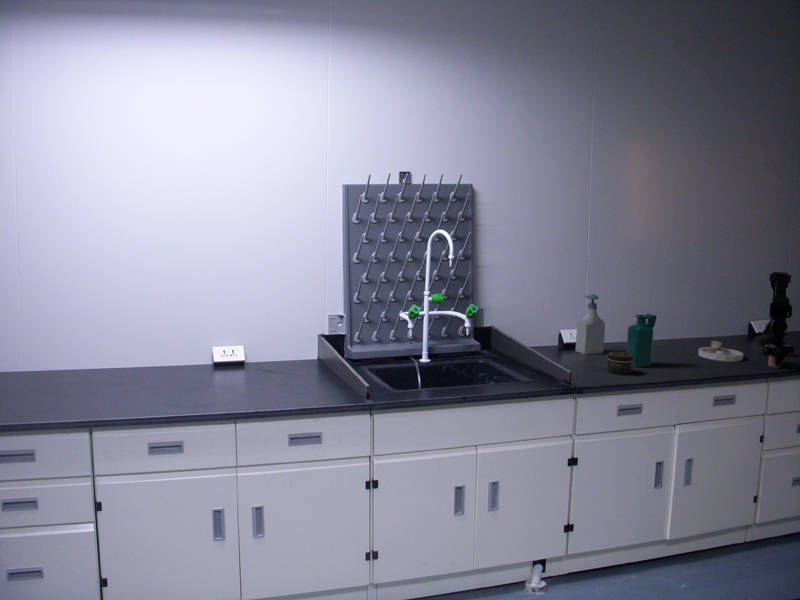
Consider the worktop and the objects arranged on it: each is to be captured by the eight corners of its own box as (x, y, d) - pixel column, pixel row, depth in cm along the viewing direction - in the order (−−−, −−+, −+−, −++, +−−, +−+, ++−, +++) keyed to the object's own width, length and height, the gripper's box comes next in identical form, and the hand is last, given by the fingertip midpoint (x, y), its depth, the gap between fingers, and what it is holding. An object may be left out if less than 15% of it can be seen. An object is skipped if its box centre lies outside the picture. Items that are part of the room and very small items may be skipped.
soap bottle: (591, 349, 301) (595, 292, 297) (603, 352, 294) (607, 294, 290) (572, 350, 297) (576, 293, 293) (584, 354, 289) (588, 295, 285)
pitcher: (635, 367, 267) (639, 316, 263) (623, 362, 275) (627, 313, 272) (655, 366, 269) (659, 316, 266) (642, 361, 277) (646, 312, 274)
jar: (611, 367, 265) (613, 350, 264) (635, 372, 259) (637, 354, 258) (602, 372, 258) (604, 354, 257) (627, 376, 251) (628, 358, 250)
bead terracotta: (775, 365, 275) (777, 354, 275) (781, 368, 271) (782, 357, 270) (765, 365, 275) (766, 354, 275) (771, 368, 271) (772, 356, 270)
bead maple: (722, 353, 293) (723, 342, 292) (712, 352, 293) (713, 342, 292) (718, 351, 297) (719, 340, 297) (708, 350, 297) (709, 340, 297)
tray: (730, 353, 299) (731, 347, 299) (750, 362, 281) (751, 356, 281) (691, 351, 300) (692, 346, 299) (709, 361, 282) (709, 355, 281)
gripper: (747, 325, 280) (744, 359, 283) (770, 333, 262) (766, 369, 264) (772, 325, 280) (769, 359, 282) (797, 333, 262) (793, 370, 264)
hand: (773, 364), depth 273 cm, fingers closed on bead terracotta, 4 cm apart
